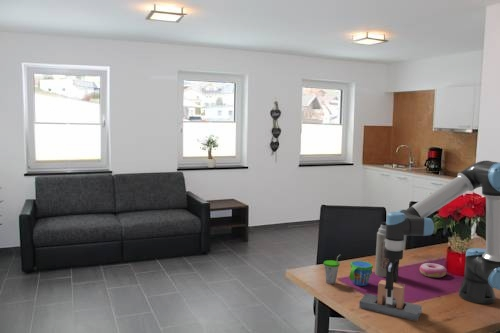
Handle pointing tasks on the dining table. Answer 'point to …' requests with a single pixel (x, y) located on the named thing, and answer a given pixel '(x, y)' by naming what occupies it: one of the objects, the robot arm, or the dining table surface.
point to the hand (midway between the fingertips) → (390, 301)
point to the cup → (331, 270)
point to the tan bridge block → (397, 293)
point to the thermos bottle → (381, 252)
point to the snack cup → (360, 272)
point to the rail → (391, 308)
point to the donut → (433, 270)
